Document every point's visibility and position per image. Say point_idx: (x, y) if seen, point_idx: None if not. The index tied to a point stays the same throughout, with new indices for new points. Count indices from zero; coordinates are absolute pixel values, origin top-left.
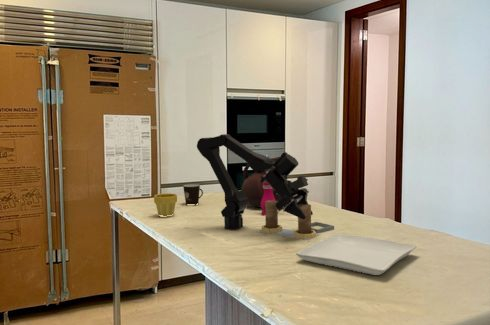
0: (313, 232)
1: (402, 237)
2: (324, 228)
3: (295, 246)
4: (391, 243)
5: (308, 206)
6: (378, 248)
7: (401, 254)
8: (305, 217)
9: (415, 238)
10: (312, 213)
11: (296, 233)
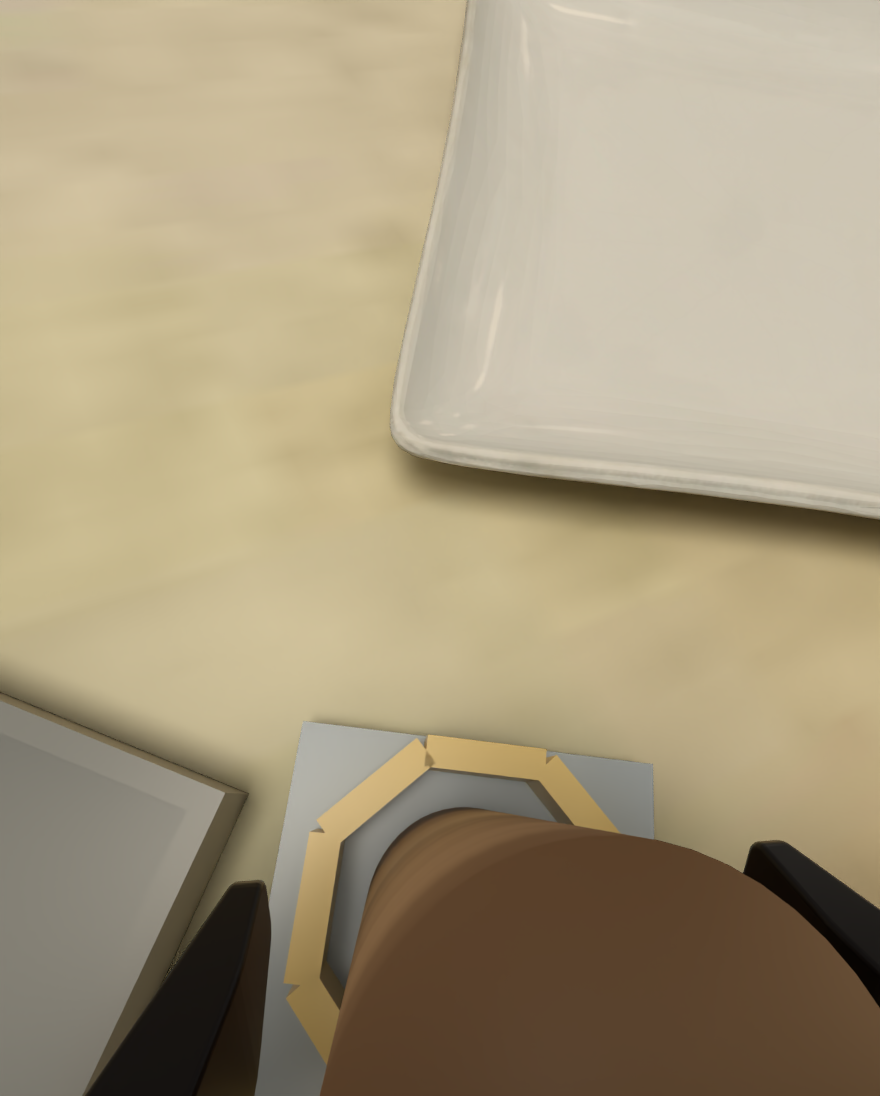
0: (449, 768)
1: (3, 78)
2: (80, 733)
3: (820, 861)
4: (484, 28)
5: (730, 866)
6: (524, 136)
7: (565, 28)
8: (784, 842)
9: (11, 13)
10: (255, 882)
11: None
